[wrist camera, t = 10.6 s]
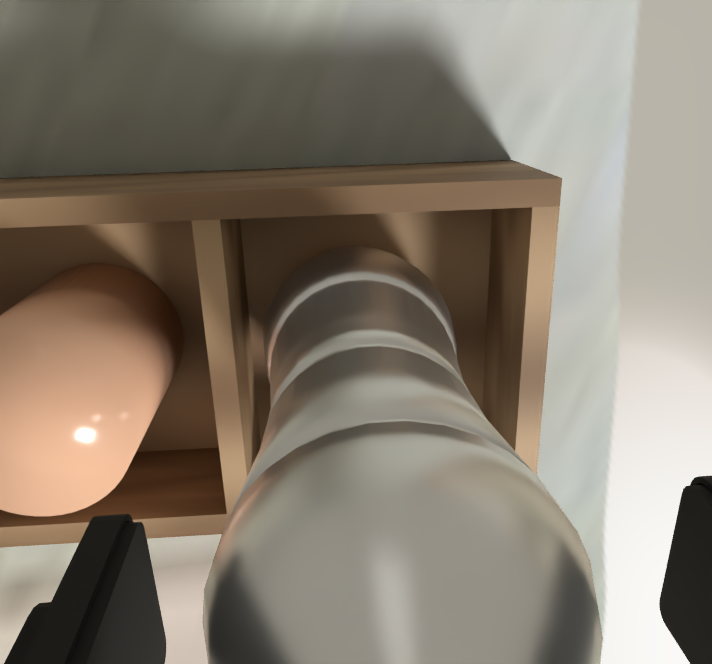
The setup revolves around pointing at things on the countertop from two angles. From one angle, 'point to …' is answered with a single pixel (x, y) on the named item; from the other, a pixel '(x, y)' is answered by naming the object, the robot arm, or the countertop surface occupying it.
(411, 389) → the grey metal bottle
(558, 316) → the countertop surface
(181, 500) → the crate
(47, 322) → the peach colored egg
